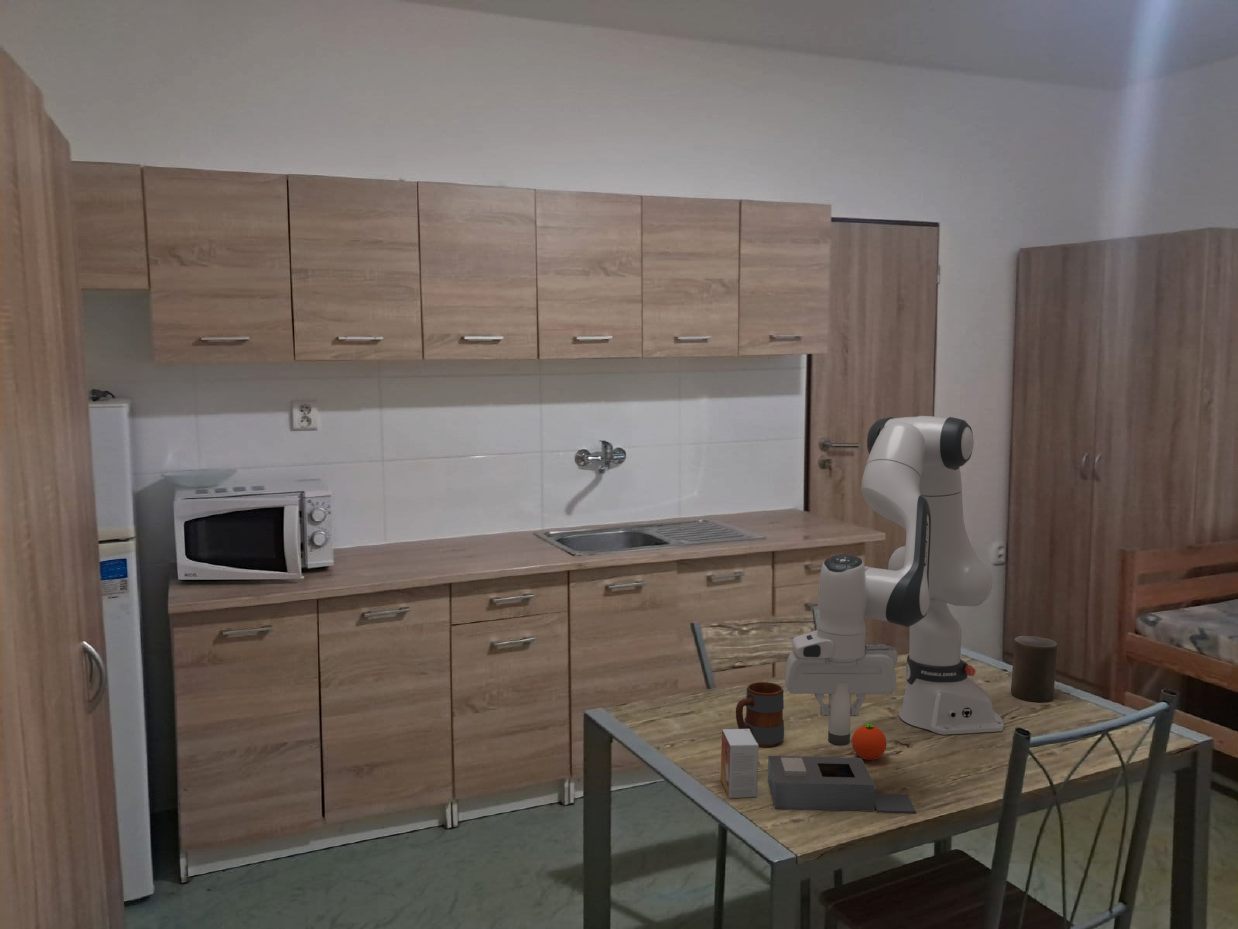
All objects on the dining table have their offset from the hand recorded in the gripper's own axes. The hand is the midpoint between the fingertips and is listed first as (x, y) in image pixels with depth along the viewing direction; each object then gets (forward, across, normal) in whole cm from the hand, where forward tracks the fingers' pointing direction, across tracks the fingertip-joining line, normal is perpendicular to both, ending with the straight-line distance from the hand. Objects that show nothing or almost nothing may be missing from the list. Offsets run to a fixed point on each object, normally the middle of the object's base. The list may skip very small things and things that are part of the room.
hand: (839, 715), depth 187 cm
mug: (+16, +12, -25) cm, 32 cm away
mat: (+16, -10, +3) cm, 19 cm away
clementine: (+16, -10, -18) cm, 26 cm away
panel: (+16, +4, 0) cm, 16 cm away
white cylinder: (+5, 0, 0) cm, 5 cm away
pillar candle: (+18, -58, -56) cm, 83 cm away
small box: (+16, +18, -2) cm, 24 cm away
